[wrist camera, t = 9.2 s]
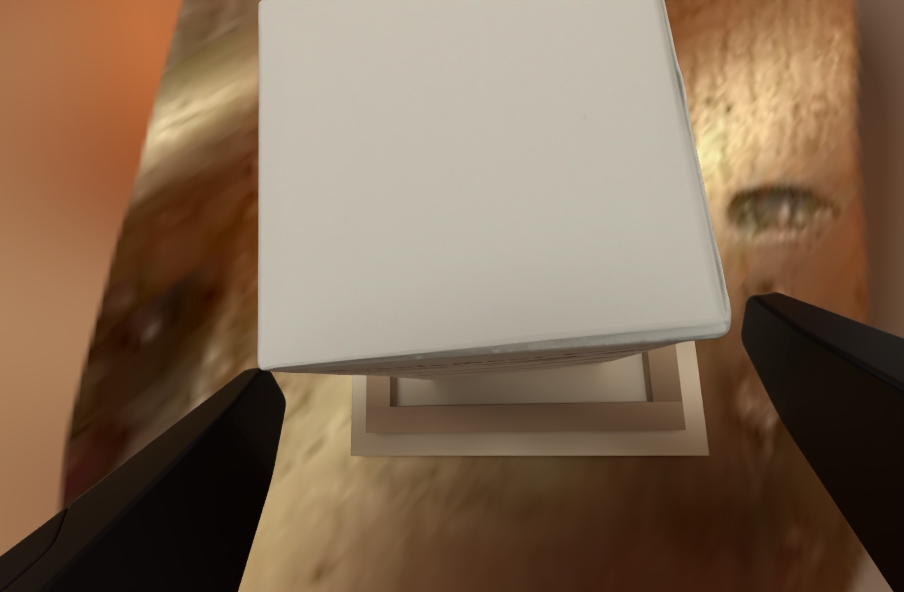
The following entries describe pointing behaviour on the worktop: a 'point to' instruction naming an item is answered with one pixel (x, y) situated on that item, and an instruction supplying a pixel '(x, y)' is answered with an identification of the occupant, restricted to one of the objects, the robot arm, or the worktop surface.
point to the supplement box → (477, 188)
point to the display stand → (538, 411)
